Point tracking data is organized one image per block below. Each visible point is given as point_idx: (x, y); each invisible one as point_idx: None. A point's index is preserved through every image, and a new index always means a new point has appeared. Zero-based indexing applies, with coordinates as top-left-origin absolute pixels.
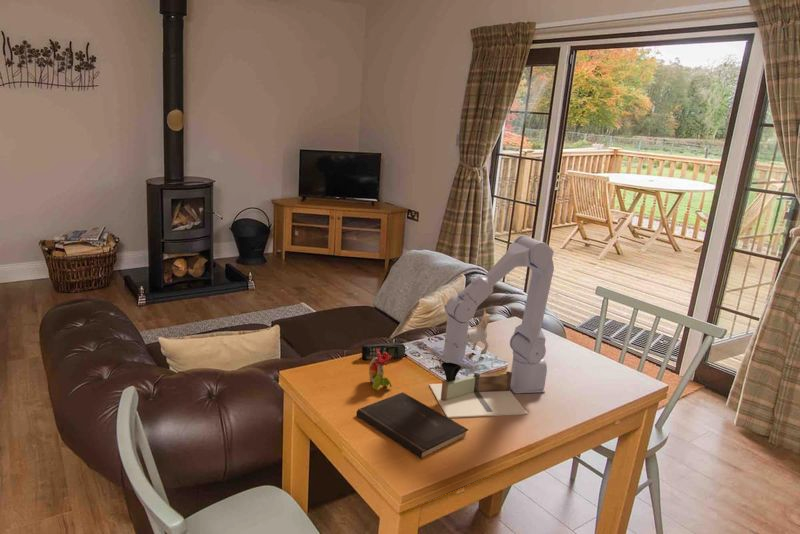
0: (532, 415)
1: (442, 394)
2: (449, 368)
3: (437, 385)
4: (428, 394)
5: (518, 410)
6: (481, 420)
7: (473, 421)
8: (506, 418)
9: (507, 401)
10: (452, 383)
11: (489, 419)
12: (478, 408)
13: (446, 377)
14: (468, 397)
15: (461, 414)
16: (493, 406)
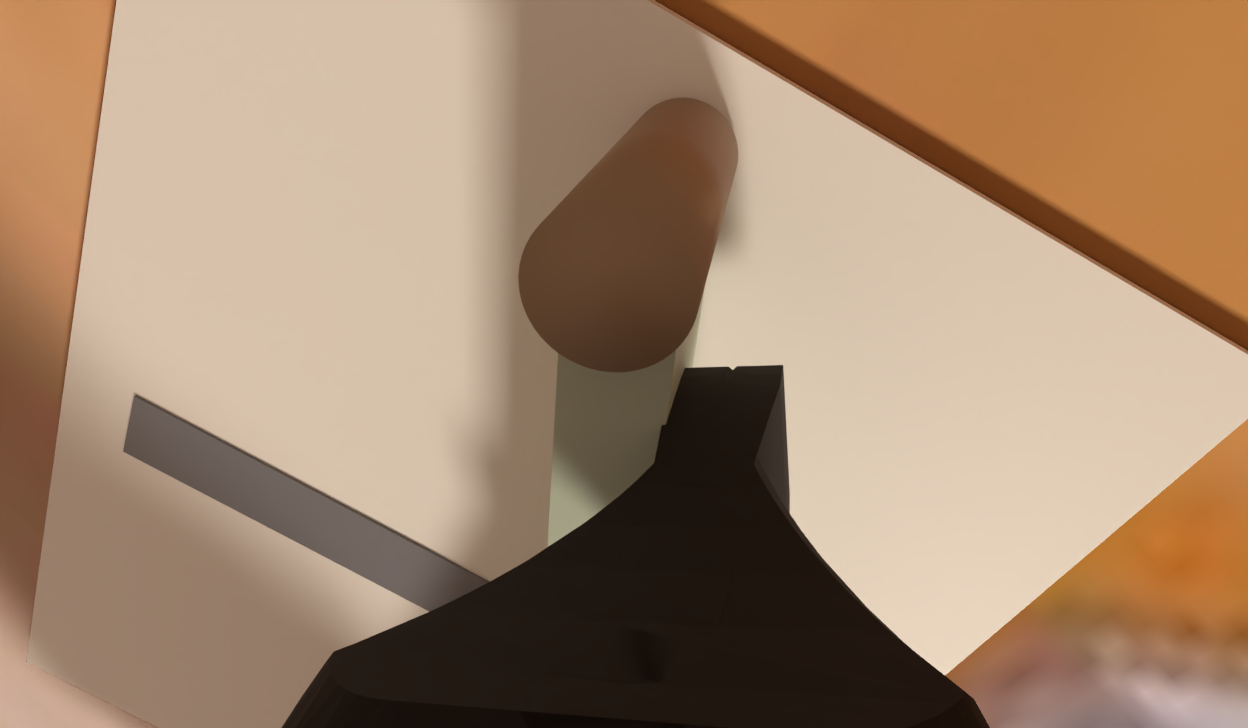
0: (15, 661)
1: (653, 118)
2: (369, 694)
3: (1117, 446)
4: (1058, 92)
5: (85, 644)
6: (12, 194)
7: (5, 74)
8: (5, 459)
9: (265, 709)
10: (556, 428)
11: (17, 297)
12: (239, 379)
13: (737, 469)
14: (531, 503)
15: (161, 34)
16: (223, 543)
